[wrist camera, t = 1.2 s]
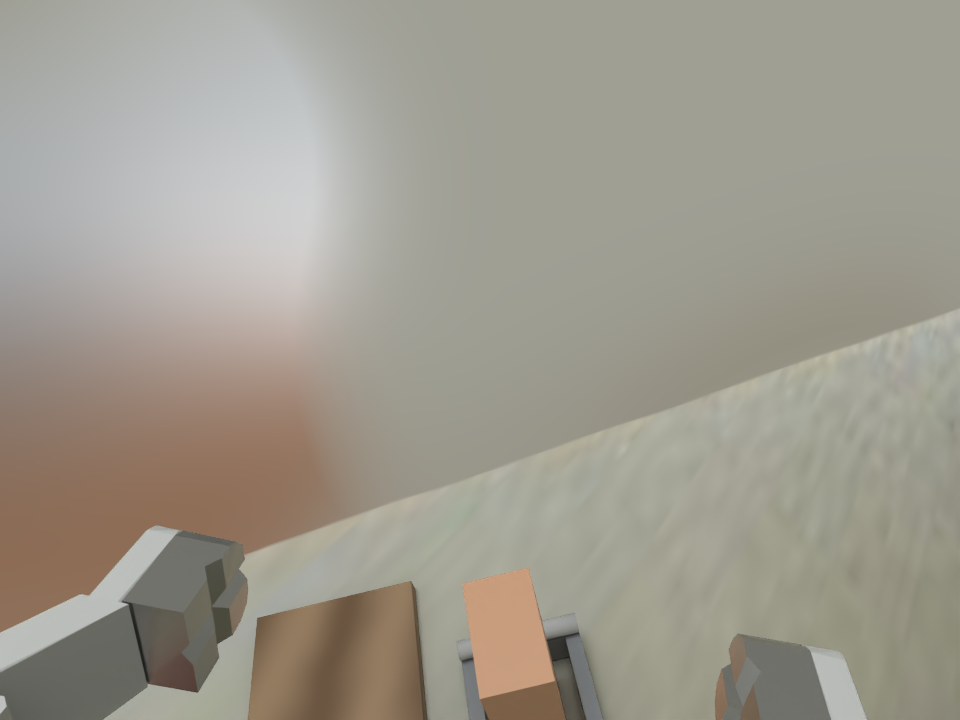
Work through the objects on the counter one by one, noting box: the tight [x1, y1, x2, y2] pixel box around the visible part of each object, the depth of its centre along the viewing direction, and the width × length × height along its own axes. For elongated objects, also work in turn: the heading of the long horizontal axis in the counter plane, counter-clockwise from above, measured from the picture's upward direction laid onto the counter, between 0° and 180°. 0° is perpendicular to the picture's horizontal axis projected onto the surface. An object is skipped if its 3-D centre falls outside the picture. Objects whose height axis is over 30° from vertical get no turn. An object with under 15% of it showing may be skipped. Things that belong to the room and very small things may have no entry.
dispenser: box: [457, 613, 603, 720], centre depth 35 cm, size 7×9×4 cm
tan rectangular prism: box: [462, 568, 566, 720], centre depth 32 cm, size 3×5×12 cm, turn 9°
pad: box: [248, 581, 427, 720], centre depth 39 cm, size 10×12×1 cm
